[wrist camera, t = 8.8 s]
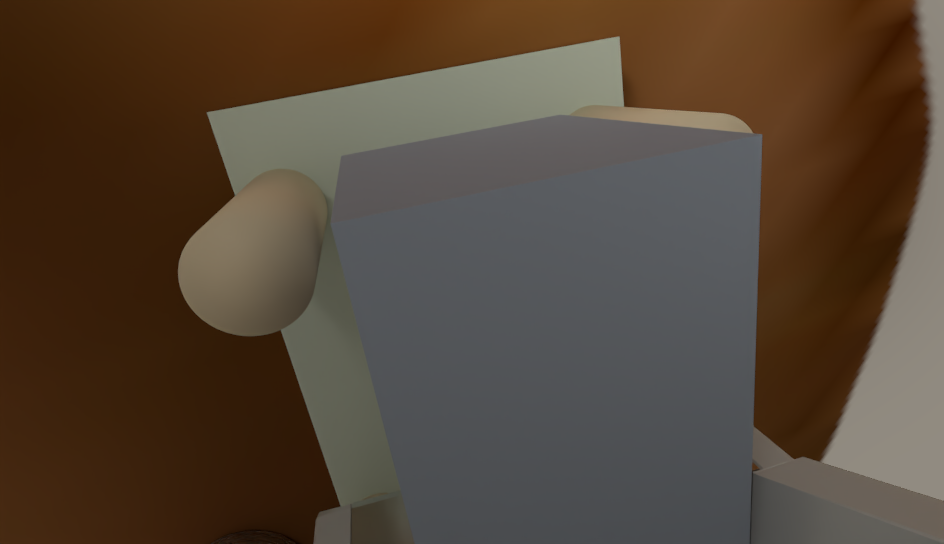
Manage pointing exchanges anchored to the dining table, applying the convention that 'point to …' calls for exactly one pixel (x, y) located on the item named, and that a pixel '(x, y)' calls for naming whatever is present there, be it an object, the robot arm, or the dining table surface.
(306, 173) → the peg rack
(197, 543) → the dining table surface
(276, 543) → the steel pin
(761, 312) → the dining table surface
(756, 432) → the robot arm
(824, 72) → the dining table surface
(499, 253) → the bar
